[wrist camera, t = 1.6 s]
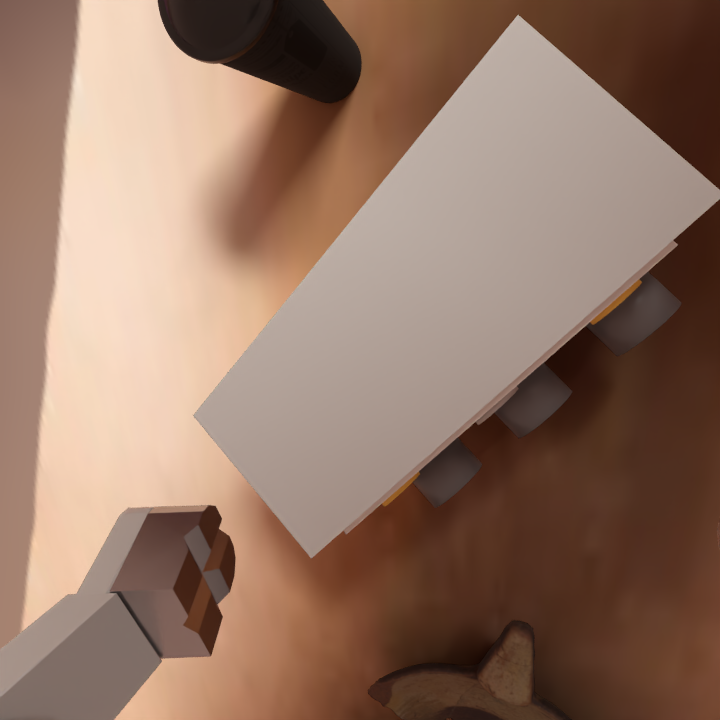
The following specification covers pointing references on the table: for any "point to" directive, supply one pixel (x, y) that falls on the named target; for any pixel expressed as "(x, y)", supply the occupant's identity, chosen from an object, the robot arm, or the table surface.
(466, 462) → the button
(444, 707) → the oil lamp
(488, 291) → the console
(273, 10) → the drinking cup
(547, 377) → the button
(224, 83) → the table surface
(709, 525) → the table surface
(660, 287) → the button
